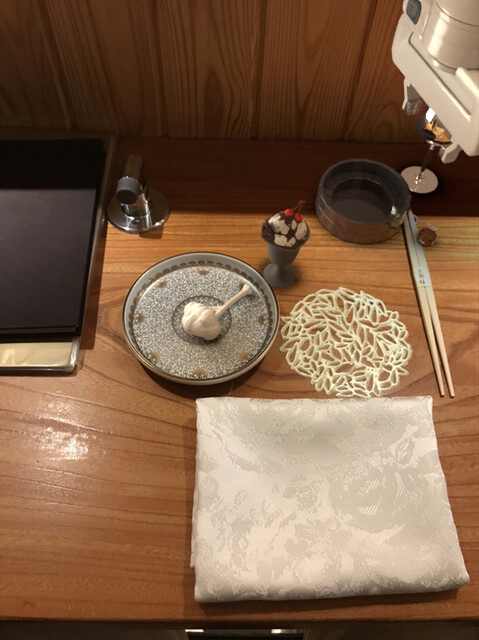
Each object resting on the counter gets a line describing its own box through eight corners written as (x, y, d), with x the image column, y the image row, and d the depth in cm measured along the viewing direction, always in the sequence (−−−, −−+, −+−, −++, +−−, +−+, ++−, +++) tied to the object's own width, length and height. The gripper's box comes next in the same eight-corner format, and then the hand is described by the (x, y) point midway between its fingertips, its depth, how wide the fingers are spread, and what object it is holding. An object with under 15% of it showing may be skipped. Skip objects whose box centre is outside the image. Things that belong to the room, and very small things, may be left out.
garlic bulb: (264, 286, 79) (200, 329, 73) (264, 311, 82) (203, 355, 76) (230, 266, 82) (166, 305, 76) (231, 291, 86) (170, 330, 80)
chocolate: (410, 241, 89) (418, 224, 86) (418, 234, 90) (426, 216, 86) (427, 252, 88) (435, 235, 85) (434, 244, 89) (443, 227, 85)
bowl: (377, 173, 97) (385, 151, 93) (417, 234, 90) (427, 212, 86) (301, 191, 94) (305, 168, 90) (336, 255, 87) (342, 233, 83)
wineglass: (443, 201, 94) (486, 109, 79) (394, 194, 94) (428, 102, 79) (441, 167, 98) (482, 74, 83) (394, 161, 99) (426, 67, 83)
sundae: (308, 269, 85) (324, 198, 73) (288, 300, 82) (300, 232, 70) (270, 251, 87) (279, 179, 74) (249, 281, 84) (254, 211, 71)
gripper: (549, 83, 56) (492, 184, 68) (445, -21, 66) (411, 83, 78) (495, 94, 55) (446, 196, 67) (398, -14, 65) (370, 91, 77)
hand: (427, 134), depth 72 cm, fingers open, 8 cm apart
